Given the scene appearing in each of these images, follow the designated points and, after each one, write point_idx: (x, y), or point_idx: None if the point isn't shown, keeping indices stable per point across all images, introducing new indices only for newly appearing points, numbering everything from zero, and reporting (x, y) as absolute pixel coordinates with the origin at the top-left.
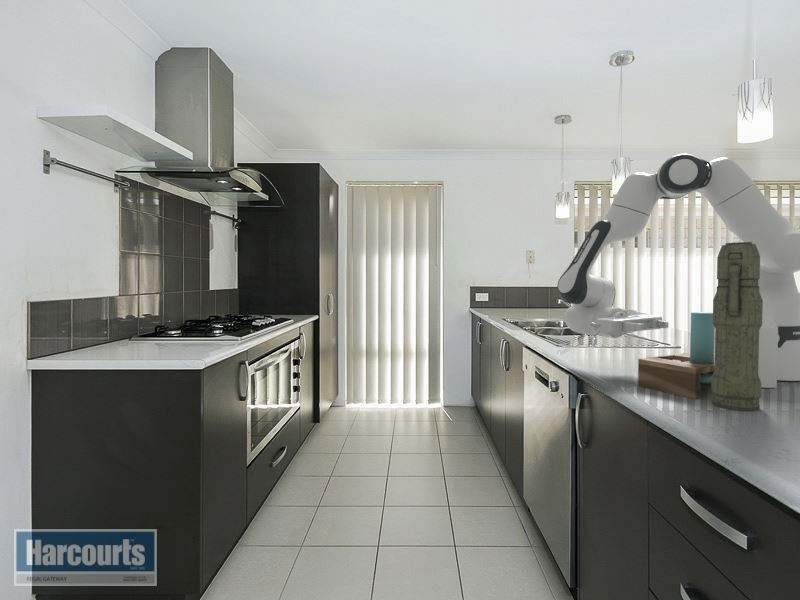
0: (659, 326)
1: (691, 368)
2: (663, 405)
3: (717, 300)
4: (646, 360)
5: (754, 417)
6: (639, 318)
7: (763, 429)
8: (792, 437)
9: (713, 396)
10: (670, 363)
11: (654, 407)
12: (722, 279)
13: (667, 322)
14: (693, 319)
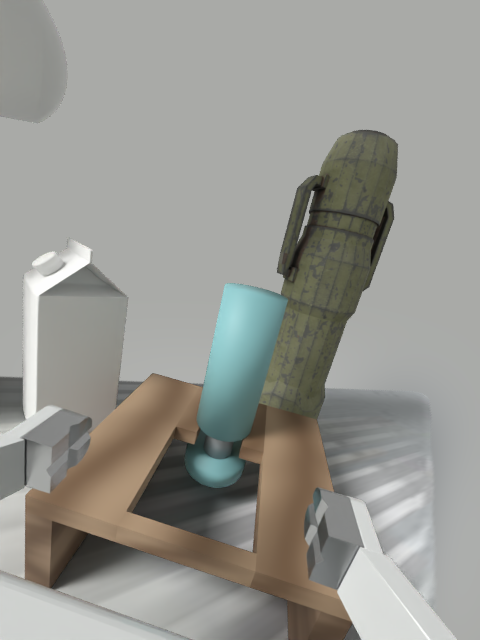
0: (53, 479)
1: (318, 426)
2: (397, 501)
3: (369, 269)
4: None
5: None
6: (110, 619)
7: (344, 401)
8: (340, 389)
9: None
10: (316, 469)
11: (425, 508)
12: (379, 225)
13: (59, 408)
14: (281, 320)
